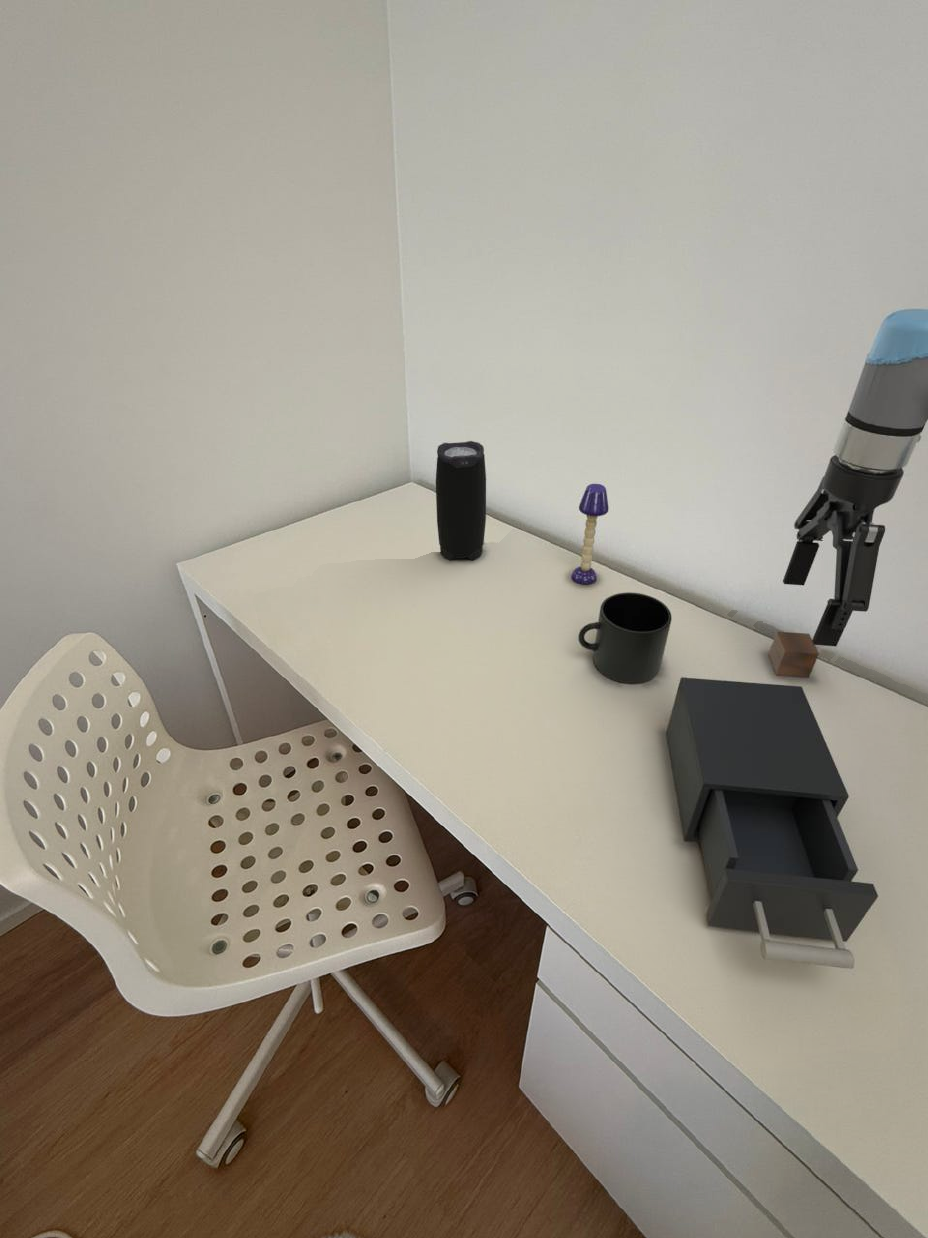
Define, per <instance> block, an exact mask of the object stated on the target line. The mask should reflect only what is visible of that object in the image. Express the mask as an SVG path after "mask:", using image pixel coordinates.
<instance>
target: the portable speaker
mask: <svg viewBox="0 0 928 1238" xmlns="http://www.w3.org/2000/svg"><path fill="white" fill-rule="evenodd" d="M436 454H437V458H436V468H435V501H436V502H435V505H436V524H437V525H436V526H437V535H438V545H439V552H440V555H441V556H442V557H443V558H444V559H446V560H448V561H451V560H452V559H454V558H455V559H456V558H457V559H468V560H469V561H475V560H477V559H479V558H480V557H481V556H482V554H483V549H484V547H483V546H484V544H485V532H486V523H487V470H486V457H485V448H484V445H482V443H480V442H478V441H473V440H468V441H462V442H460V441H459V442H443V443H441V444H439V445H438V446H437V449H436Z"/></svg>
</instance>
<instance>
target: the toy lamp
mask: <svg viewBox="0 0 928 1238" xmlns="http://www.w3.org/2000/svg"><path fill="white" fill-rule="evenodd" d="M578 510H579V512H580V513H581V514H582V515H585V516H586V520H585V528H584V532H583V533H584V537H583V540H582V541H583V545H582V550H581V551H582V553H581V563H580V566H577V567H576V568H575V569H573V571H572V574H571V580H572V581H573V582H575V583H577V584H580V585H592V584H594V583H595V582H597V578H598V576H597V573H596V571H595V569H593V568H592V560H593V552H594V543H595V535H596V528H597V525H598V523H597V520H598V517H601V516H605V515H606V514H608V513H609V500H608V491H607V488H606V486H605V485H603V484H600V483H590V484H588V485H587V486H586V488H585V490H584V492H583V495H582V497H581V500H580V502H579V505H578Z"/></svg>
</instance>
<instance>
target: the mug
mask: <svg viewBox="0 0 928 1238" xmlns="http://www.w3.org/2000/svg"><path fill="white" fill-rule="evenodd" d="M672 619H673V618H672V612H671V611H670V609H669V608H668V606H667V605H666V604H665V603H664V602H662V601H661V600H659V599H657V598H655V597H654V596H651V595H648V594H645V593H641V592H630V591H629V592H628V591H627V592H619V593H615V594H612V595H610V596H608V597H607V598H605V599H604V600H603V601H602V603H601V604H600V607H599V614H598V621H595V622H590V623H588V624H586V625H584V626H583V627H582V628H581V629H580V630H579V633H578V636H577V637H578V638H577V639H578V643H579V645H580V646H581V647H582V648H584V649H585V650H590V651H592V652H593V654H592V659H593V663H594V666H595V667H596V669H597V670H598V671H599V672H600V673H601V674H602V675H603V676H605V677H606V678H609V679H610V680H612V681H615V682H619V683H622V684H636V685H637V684H642V683H643V684H644V683H646V682H649V681H651V680H652V679H654V678H655V677H656V676H657V675H658V674H659V672H660V671H661V667H662V663H663V658H664V653H665V650H666V646H667V642H668V641H667V640H668V637H669V633H670V628H671V623H672ZM591 630H596V634H595V641H594V642H592V643H590V642H588V641H587V640H586V639H585V635H586V634H587V632H589V631H591Z"/></svg>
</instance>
